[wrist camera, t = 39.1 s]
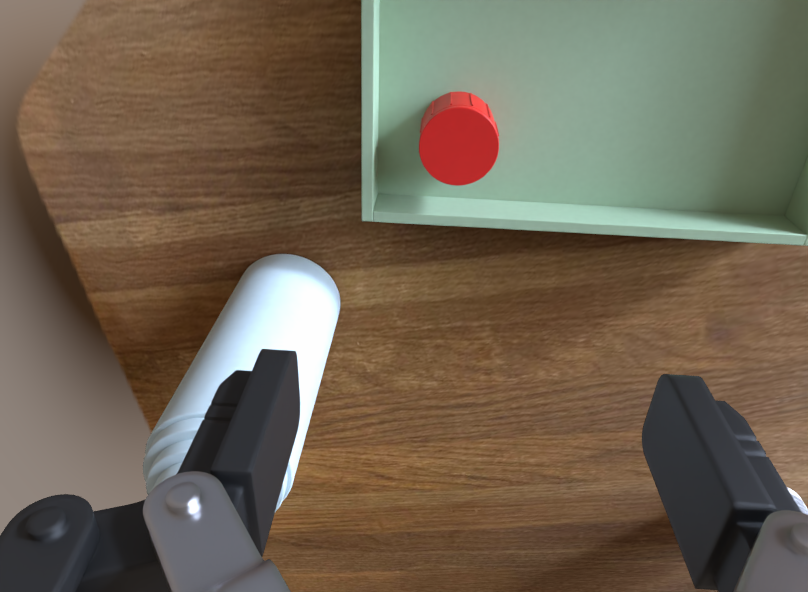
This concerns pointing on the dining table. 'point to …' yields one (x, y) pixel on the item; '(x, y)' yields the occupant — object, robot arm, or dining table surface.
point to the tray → (596, 115)
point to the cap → (458, 139)
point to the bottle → (252, 354)
